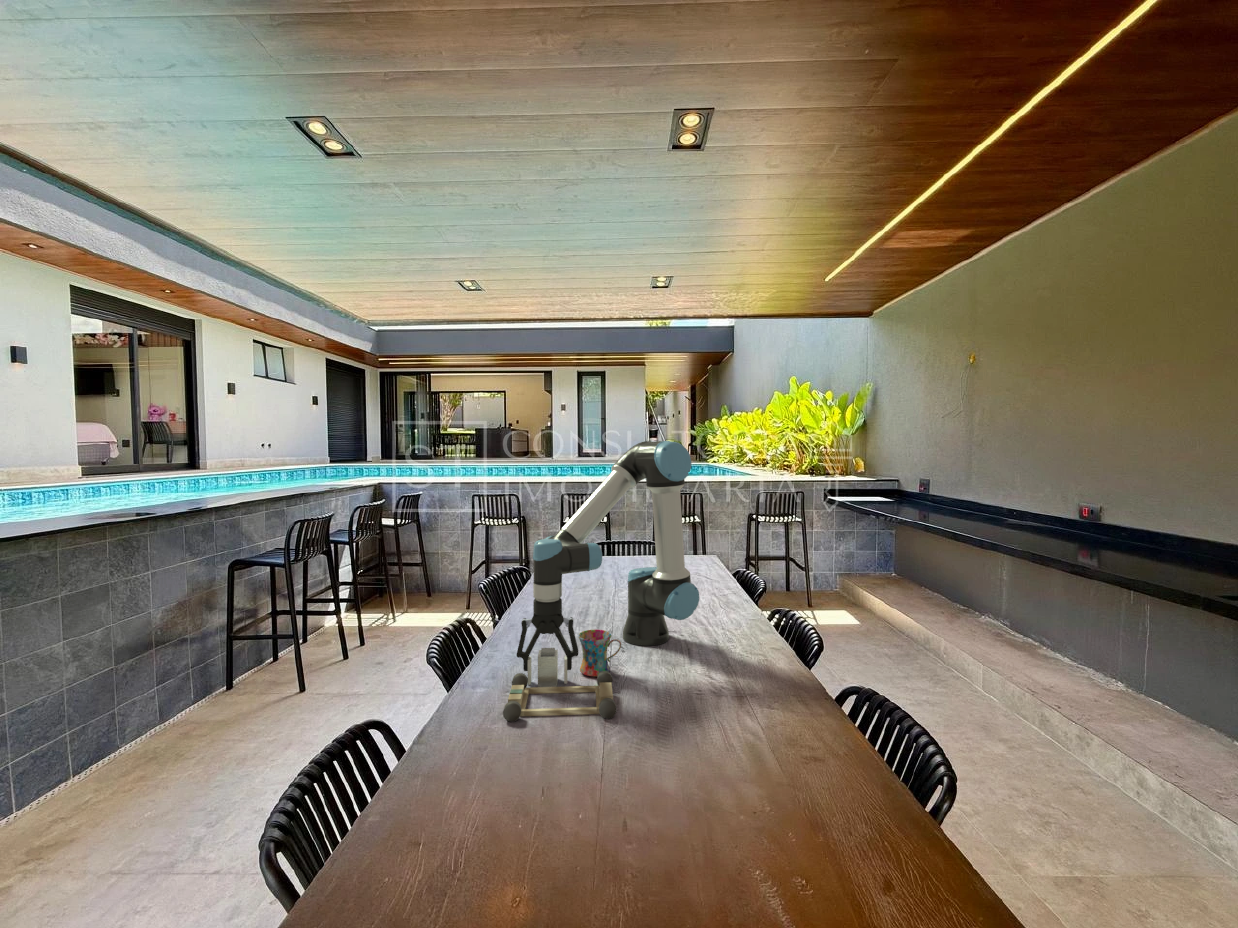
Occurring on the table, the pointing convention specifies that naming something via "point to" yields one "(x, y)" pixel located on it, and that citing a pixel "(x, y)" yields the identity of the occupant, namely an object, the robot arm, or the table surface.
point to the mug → (595, 651)
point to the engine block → (547, 667)
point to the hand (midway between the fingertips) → (547, 681)
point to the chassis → (520, 692)
